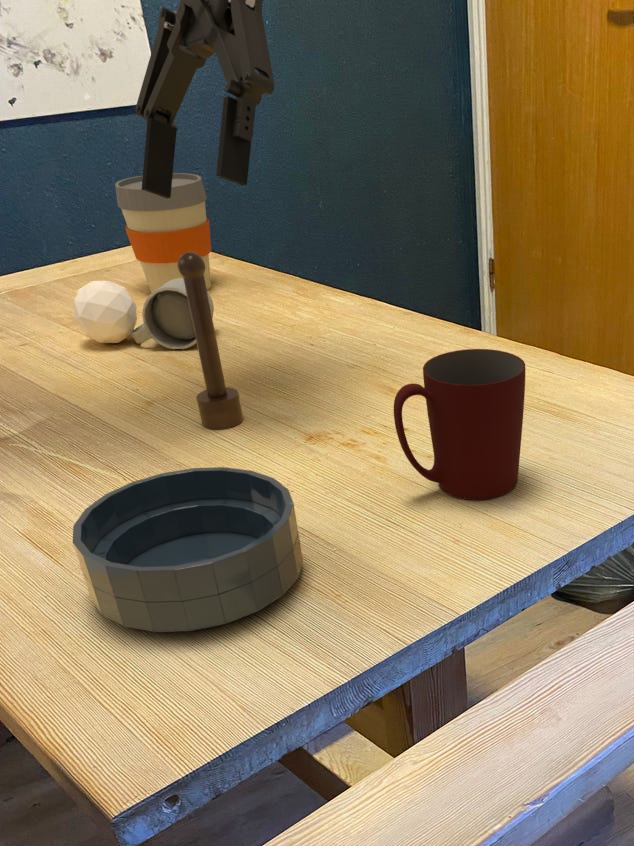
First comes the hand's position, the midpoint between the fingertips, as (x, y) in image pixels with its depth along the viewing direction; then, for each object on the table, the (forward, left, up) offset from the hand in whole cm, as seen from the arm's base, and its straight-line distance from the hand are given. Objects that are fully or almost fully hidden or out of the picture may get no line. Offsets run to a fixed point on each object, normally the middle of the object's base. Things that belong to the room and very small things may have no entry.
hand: (191, 187), depth 88 cm
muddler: (-1, -2, -23) cm, 23 cm away
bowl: (+14, -31, -23) cm, 41 cm away
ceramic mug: (-20, +20, -23) cm, 37 cm away
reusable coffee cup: (-34, +42, -23) cm, 59 cm away
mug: (+29, -10, -23) cm, 39 cm away
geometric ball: (-28, +18, -23) cm, 41 cm away
